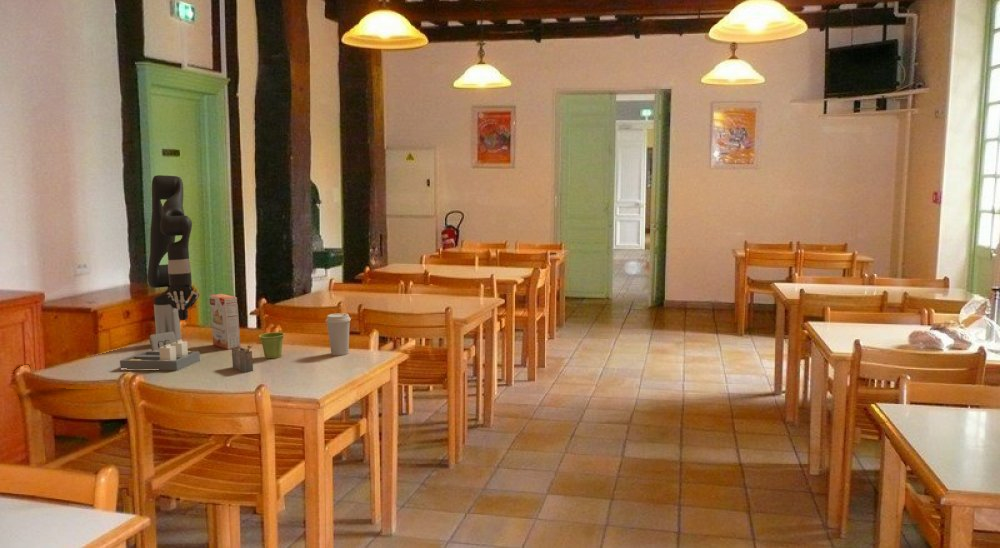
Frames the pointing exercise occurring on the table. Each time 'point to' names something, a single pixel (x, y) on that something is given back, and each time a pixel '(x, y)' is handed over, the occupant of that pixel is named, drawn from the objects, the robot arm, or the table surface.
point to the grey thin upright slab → (242, 359)
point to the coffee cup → (338, 333)
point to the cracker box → (225, 321)
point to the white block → (180, 347)
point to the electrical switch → (161, 340)
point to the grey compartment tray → (159, 361)
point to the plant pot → (272, 344)
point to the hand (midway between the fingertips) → (183, 319)
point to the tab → (168, 352)
